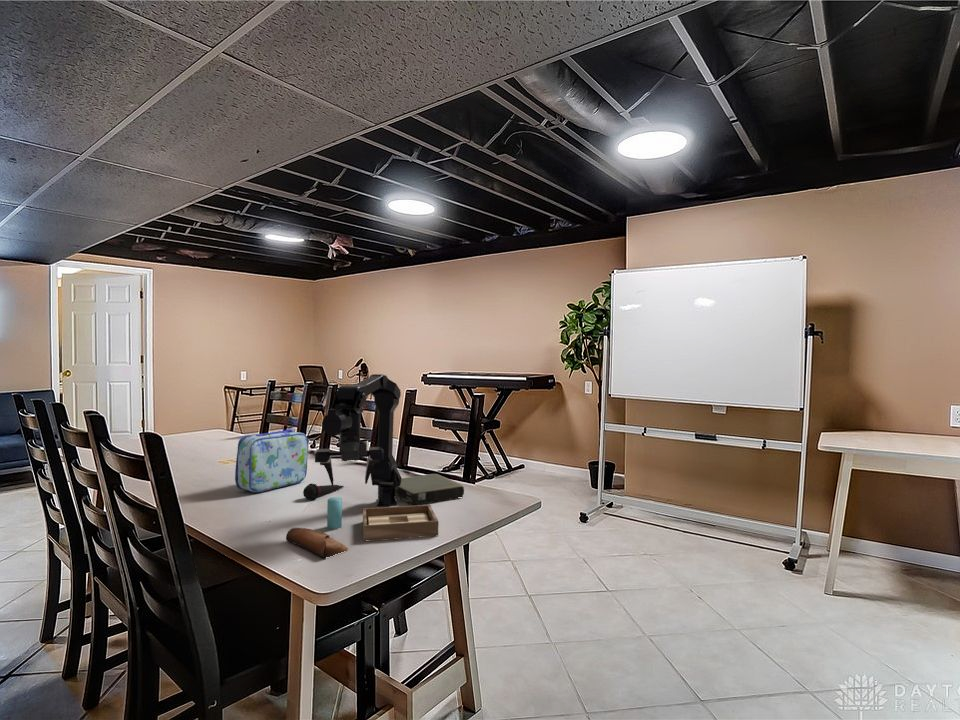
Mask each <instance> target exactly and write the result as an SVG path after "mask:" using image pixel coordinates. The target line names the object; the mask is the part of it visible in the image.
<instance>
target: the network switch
mask: <svg viewBox="0 0 960 720" xmlns="http://www.w3.org/2000/svg"><path fill="white" fill-rule="evenodd" d="M401 478H402V479H401V484H400V486H397V487H395V497H396V498H399V500H402V501H404V502H407V504H410V506H415V505H426V504H430V503H436V502H440V501H450V500H449V499H452V500H455V499H454V498H458V497H462V498H463V497H464V494H465V488H464V487H465V486H464V485H463V483H462V484H461V483H460V482H457V481H454V480H452V479H450V478H448V477H445V476H442V475H440V474H438V473H429V474H422V475H415V476H410V477H401ZM458 499H459V498H458Z"/></svg>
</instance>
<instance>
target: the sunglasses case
mask: <svg viewBox="0 0 960 720" xmlns="http://www.w3.org/2000/svg"><path fill="white" fill-rule="evenodd" d="M285 540H286V541H287V542H289V543H292V544H295V545H298V546H300V547H302V548H303V549H307V550H308V551H310V552H312V553H315V554H316V555H318V556H320V557H322V558H324V559H325V558H326V557H330V556H333V555H335V554H338V553H341V552H344V551H346V550H348V549H349V548H348V547H347V546H346V545H345V544H343V543H342V542H340V541H338V540H336V539H335V538H332V537H330V534H327V533H326V532H322V531H318V530H317V529H311V528H307V527H306V528H305V527H292V528H291V529H289V530H288V532H287V533H286V536H285ZM346 552H347V551H346ZM344 553H345V552H344ZM341 554H342V553H341ZM338 555H339V554H338ZM333 557H334V556H333ZM330 558H331V557H330Z"/></svg>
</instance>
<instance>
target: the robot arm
mask: <svg viewBox="0 0 960 720" xmlns="http://www.w3.org/2000/svg"><path fill="white" fill-rule="evenodd" d="M399 387H400V386H398V385H397V383H396V382H394V381H392V379H389V378H388V376H387V374H386V375H385V374H381V373H380V374H377V373H375V374H370V376H368V377H366V378H365V379H362V380H361V381H359V382H356V384H345V385H340V386H339V387H338V388H337V390H336V392H335V394H334V397H333V400H332V403H331V405H330V408H329V410H328V411H329V412H328V414H326V415H325V416H324V418H323V419H322V422H321V426H322V429H323V431H324V433H325V434H327V435H329V436H334V435H338V434H339V448H338V449H339V451H331V448H317V449H316V451H314V452H315V454H314V463H319V465H320V466H324V468H325V470H326V472H327V476H328V478H329V481H330V485H332V486H333V485H334V474H333V465H332V459H341V461H343V462H347V461H355V462H357V461H359V460H360V459H361V458H367V459H366V465H365V468H366V469H365V477H364V484H365V485H366V484H368V481H369V479H371V485H372V486H377V499H375V500H376V501H375V502H376V506H377V507H385V506H386V507H387V506H397V505H398V503H397V502H398V501H397V500H396V496H395V487H397V486H400V484H401V479H402V478H403V477H402V476H401V474H400V472H399V470H398V462H397V460H396V459H395V457H394V456H393V447H394V446H393V445H394V443H393V442H394V416H395V415H394V413H395V411H396V409H397V408H398V406H399V404H400V398H401V395H402V393H401V389H400V388H399ZM370 395H372V397H373V398H374V405H375V407H376V408H377V410H378V430H377V431H378V432H377V433H378V435H377V436H378V437H377V438H378V440H377V446H369V447H368V445H367V444H368V442H367V441H361V419H362V418H361V417H362V413H364V409H363V408H362V405H363V404H364V403H366V401H367V397H368V396H370ZM369 477H370V478H369Z"/></svg>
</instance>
